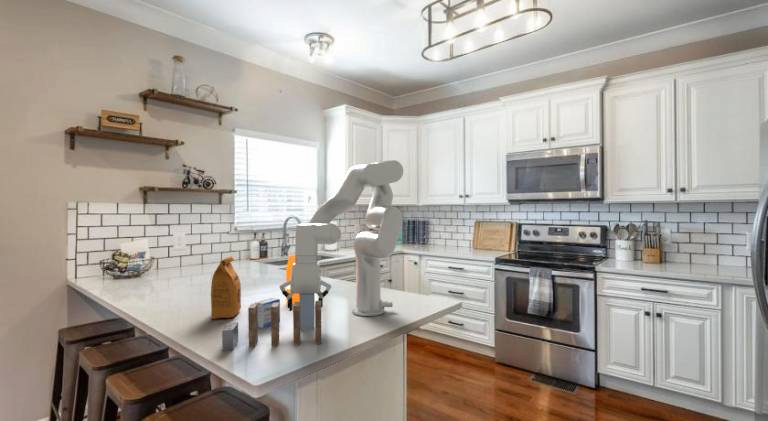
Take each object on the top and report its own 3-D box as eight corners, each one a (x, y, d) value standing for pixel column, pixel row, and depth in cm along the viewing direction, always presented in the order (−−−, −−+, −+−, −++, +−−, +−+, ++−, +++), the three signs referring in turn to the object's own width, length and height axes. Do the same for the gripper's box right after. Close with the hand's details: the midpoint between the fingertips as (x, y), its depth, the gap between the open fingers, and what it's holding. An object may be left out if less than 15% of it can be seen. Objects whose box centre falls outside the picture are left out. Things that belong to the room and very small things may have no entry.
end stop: (238, 341, 120) (238, 322, 120) (233, 350, 113) (232, 329, 113) (228, 342, 120) (228, 322, 120) (222, 350, 113) (222, 330, 113)
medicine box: (263, 329, 132) (262, 303, 132) (254, 326, 134) (254, 302, 134) (280, 322, 139) (280, 298, 139) (271, 320, 141) (271, 297, 141)
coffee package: (245, 310, 154) (244, 255, 154) (234, 320, 142) (233, 260, 141) (220, 310, 154) (219, 255, 153) (206, 320, 141) (206, 260, 141)
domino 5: (321, 338, 123) (321, 300, 123) (321, 343, 118) (321, 305, 118) (315, 338, 123) (315, 301, 123) (315, 344, 118) (315, 305, 118)
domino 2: (279, 340, 121) (279, 302, 121) (277, 346, 116) (277, 306, 116) (273, 340, 121) (273, 302, 121) (271, 346, 116) (270, 307, 116)
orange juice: (292, 298, 173) (292, 254, 173) (311, 299, 172) (311, 254, 171) (286, 303, 165) (285, 256, 165) (305, 303, 164) (305, 257, 164)
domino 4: (299, 327, 133) (299, 293, 133) (314, 327, 134) (314, 292, 134) (299, 329, 132) (299, 294, 131) (314, 328, 132) (314, 293, 132)
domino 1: (257, 341, 120) (257, 303, 120) (255, 347, 115) (254, 307, 115) (251, 341, 120) (251, 303, 120) (248, 348, 115) (248, 308, 115)
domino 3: (300, 339, 122) (300, 301, 122) (299, 345, 117) (299, 305, 117) (294, 339, 122) (294, 301, 122) (293, 345, 117) (293, 306, 117)
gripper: (331, 258, 137) (330, 306, 137) (281, 258, 134) (280, 307, 134) (331, 261, 130) (330, 312, 130) (278, 261, 127) (277, 313, 127)
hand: (305, 309), depth 132 cm, fingers open, 9 cm apart
